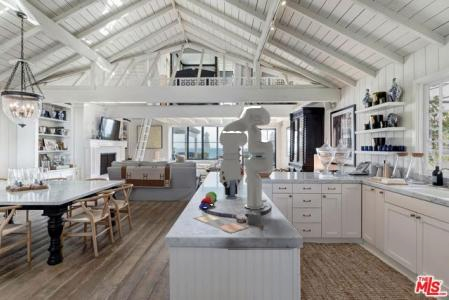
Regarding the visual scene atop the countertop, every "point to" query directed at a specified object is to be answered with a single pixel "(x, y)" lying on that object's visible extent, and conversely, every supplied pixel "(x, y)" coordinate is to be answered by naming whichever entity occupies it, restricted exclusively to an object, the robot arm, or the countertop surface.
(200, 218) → the board
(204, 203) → the toy
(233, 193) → the pawn
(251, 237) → the countertop surface
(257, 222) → the die
